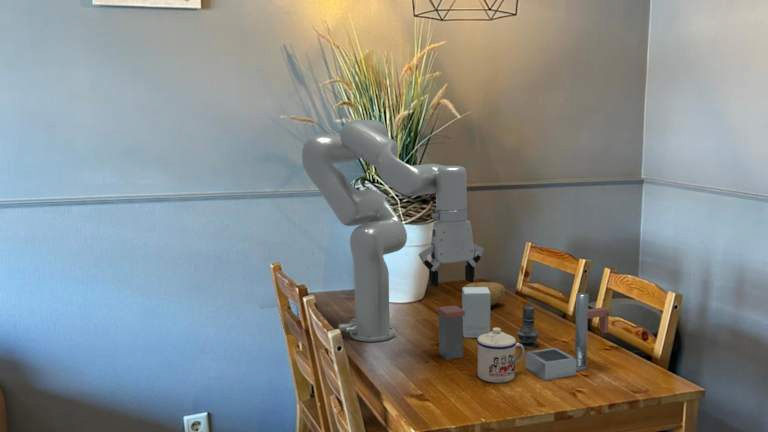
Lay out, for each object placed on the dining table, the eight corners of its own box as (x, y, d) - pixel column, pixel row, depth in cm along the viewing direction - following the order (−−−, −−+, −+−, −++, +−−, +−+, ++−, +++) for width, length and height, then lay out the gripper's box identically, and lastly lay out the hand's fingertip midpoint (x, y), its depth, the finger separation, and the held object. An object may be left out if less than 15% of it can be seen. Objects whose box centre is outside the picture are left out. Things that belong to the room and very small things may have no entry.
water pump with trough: (544, 380, 164) (546, 304, 161) (525, 367, 172) (526, 295, 169) (615, 368, 171) (618, 295, 168) (593, 357, 178) (595, 287, 176)
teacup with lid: (489, 386, 161) (489, 336, 159) (469, 372, 169) (469, 325, 167) (534, 378, 165) (535, 329, 164) (512, 365, 174) (513, 319, 172)
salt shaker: (539, 350, 184) (540, 305, 182) (516, 348, 185) (516, 304, 183) (538, 342, 190) (539, 299, 188) (516, 341, 191) (517, 298, 189)
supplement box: (490, 338, 194) (491, 293, 192) (463, 338, 194) (463, 293, 192) (487, 329, 201) (488, 286, 199) (461, 329, 202) (461, 286, 200)
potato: (511, 308, 221) (511, 284, 220) (469, 313, 218) (469, 287, 216) (497, 300, 231) (497, 276, 230) (457, 304, 227) (457, 280, 226)
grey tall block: (446, 360, 178) (446, 313, 176) (437, 353, 182) (437, 307, 180) (464, 357, 179) (464, 310, 177) (455, 350, 184) (455, 305, 182)
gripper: (425, 220, 169) (426, 290, 171) (489, 215, 175) (489, 283, 177) (413, 216, 176) (414, 283, 178) (475, 211, 182) (475, 277, 184)
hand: (452, 283), depth 178 cm, fingers open, 9 cm apart
